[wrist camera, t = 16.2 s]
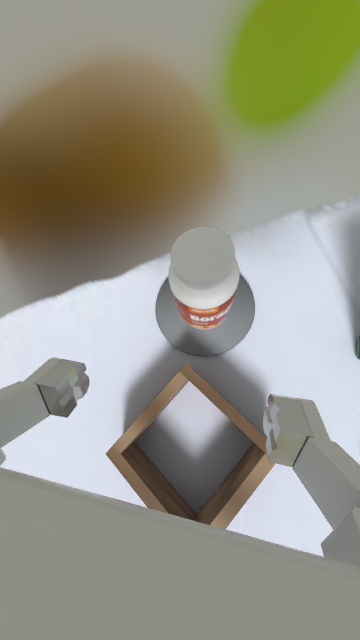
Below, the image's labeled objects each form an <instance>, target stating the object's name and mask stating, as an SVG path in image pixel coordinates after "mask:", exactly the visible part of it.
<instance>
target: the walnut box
mask: <svg viewBox="0 0 360 640" xmlns="http://www.w3.org/2000/svg"><path fill="white" fill-rule="evenodd" d="M188 381H190V382H191V383H192V384H193V385H194V386H195V387H197V388H198V389H199V390H200V391H201V392H202V393H203V394H204V395H205V396H206V397H207V398H208V399H209V400H210V401H211V402H212V403H213V404H214V405H215V406H216V407H217V408H219V409H220V410H221V411H222V412H223V413H224V414H225V415H226V416H227V417H228V418H229V419H230V420H231V421H232V422H233V423H234V424H235V425H236V426H237V427H238V428H239V429H241V430H242V431H243V432H244V433H245V434H246V435H247V436H248V437H249V438H250V439H251V440H252V441H253V442H254V444H253V445H252V446H251V448H250V449H249V450H248V452H247V453H246V454H245V455H244V457H243V458H242V459H241V460H240V462H239V463H238V464H237V465H236V467H235V468H234V469H233V471H232V472H231V473H230V474H229V476H228V477H227V478H226V479H225V481H224V482H223V483H222V484H221V486H220V487H219V488H218V490H217V491H216V492H215V493H214V495H213V496H212V497H211V498H210V500H209V501H208V502H207V503H206V505H205V506H204V507H203V508H202V510H201V511H200V512H199V514H198V515H196V514H195V513H194V511H193V510H192V509H191V508H190V507H189V506H188V504H187V503H186V502H185V501H184V500H183V498H182V497H181V496H180V495H179V494H178V493H177V491H176V490H175V489H174V488H173V487H172V485H171V484H170V483H169V482H168V481H167V480H166V478H165V477H164V476H163V475H162V474H161V472H160V471H159V470H158V469H157V468H156V467H155V465H154V464H153V463H152V462H151V461H150V459H149V458H148V457H147V456H146V455H145V454H144V452H143V451H142V450H141V449H140V448H139V446H138V445H137V444H136V443H135V441H136V440H137V439H138V438H139V437H140V436H141V435H142V434H143V432H144V431H145V430H146V429H147V428H148V427H149V426H150V424H151V423H152V422H153V421H154V420H155V419H156V418H157V416H158V415H159V414H160V413H161V412H162V411H163V410H164V408H165V407H166V406H167V405H168V404H169V403H170V402H171V400H172V399H173V398H174V397H175V396H176V395H177V394H178V393H179V391H180V390H181V389H182V388H183V387H184V386H185V385H186V383H187V382H188ZM266 441H267V438H266V437H265V436H264V435H263V434H262V433H261V432H260V431H259V430H258V429H256V428H255V427H254V426H253V425H252V424H251V423H250V422H249V421H248V420H247V419H246V418H245V417H244V416H243V415H241V414H240V413H239V412H238V411H237V410H236V409H235V408H234V407H233V406H232V405H231V404H230V403H229V402H227V401H226V400H225V399H224V398H223V397H222V396H221V395H220V394H219V393H218V392H217V391H216V390H215V389H213V388H212V387H211V386H210V385H209V384H208V383H207V382H206V381H205V380H204V379H203V378H202V377H201V376H199V375H198V374H197V373H196V372H195V371H194V370H193V369H192V368H191V367H190V366H189V365H188V364H185V365H184V366H183V368H182V369H181V370H180V371H179V372H178V373H177V374H176V375H175V376H174V378H173V379H172V380H171V381H170V382H169V383H168V384H167V385H166V387H165V388H164V389H163V390H162V391H161V392H160V393H159V394H158V396H157V397H156V398H155V399H154V400H153V401H152V402H151V403H150V405H149V406H148V407H147V408H146V409H145V410H144V411H143V412H142V413H141V415H140V416H139V417H138V418H137V419H136V420H135V421H134V422H133V424H132V425H131V426H130V427H129V428H128V429H127V430H126V431H125V433H124V434H123V435H122V436H121V437H120V438H119V439H118V440H117V442H116V443H115V444H114V445H113V446H112V447H111V448H110V449H109V450H108V452H107V453H106V455H107V456H108V457H109V459H110V460H111V461H112V463H113V464H114V465H115V466H116V468H117V469H118V470H119V472H120V473H121V474H122V475H123V477H124V478H125V479H126V480H127V482H128V483H129V484H130V486H131V487H132V488H133V489H134V491H135V492H136V493H137V495H138V496H139V497H140V498H141V500H142V501H143V502H144V503H145V505H146V506H147V507H148V508H149V509H153V510H157V511H160V512H164V513H167V514H171V515H175V516H178V517H182V518H185V519H189V520H193V521H196V522H200V523H203V524H207V525H211V526H214V527H218V528H221V529H226V528H227V526H228V525H229V524H230V522H231V521H232V520H233V518H234V517H235V516H236V514H237V513H238V512H239V511H240V509H241V508H242V507H243V505H244V504H245V503H246V501H247V500H248V499H249V497H250V496H251V495H252V494H253V492H254V491H255V490H256V488H257V487H258V486H259V484H260V483H261V482H262V480H263V479H264V478H265V476H266V475H267V474H268V473H269V471H270V470H271V469H272V467H273V466H274V465H275V463H273V462H269V461H268V457H267V450H266Z"/></svg>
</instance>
